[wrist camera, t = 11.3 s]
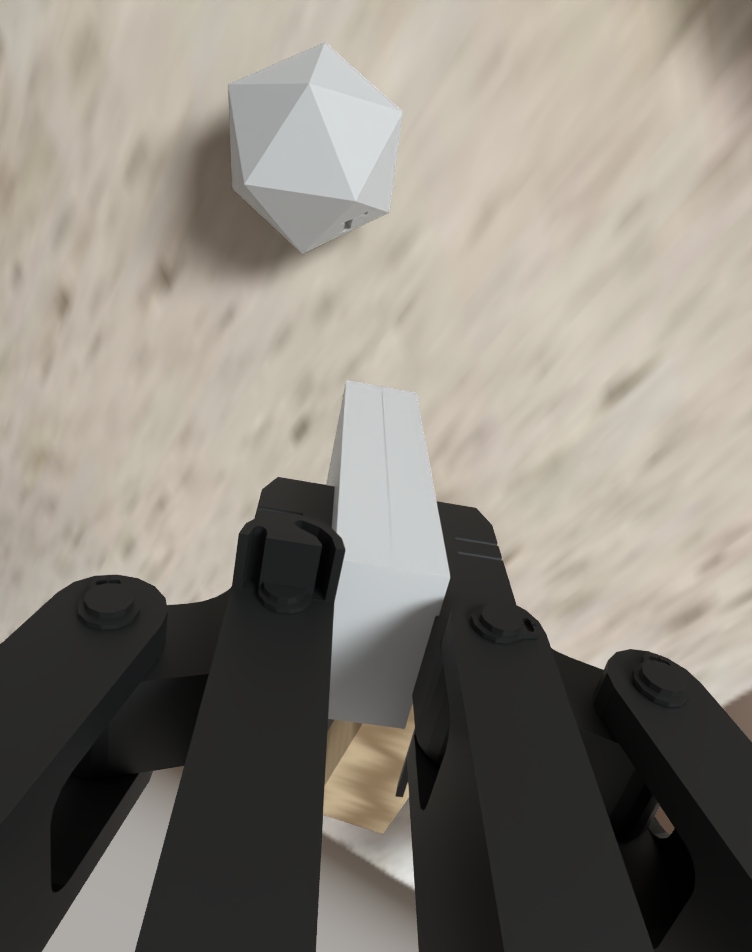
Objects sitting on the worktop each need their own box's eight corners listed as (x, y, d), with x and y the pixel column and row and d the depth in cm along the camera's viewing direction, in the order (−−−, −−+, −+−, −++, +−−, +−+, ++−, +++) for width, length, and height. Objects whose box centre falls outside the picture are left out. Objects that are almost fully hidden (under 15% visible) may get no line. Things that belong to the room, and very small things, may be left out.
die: (234, 211, 41) (299, 309, 36) (173, 57, 34) (243, 151, 28) (360, 152, 42) (442, 239, 37) (327, -9, 35) (423, 70, 29)
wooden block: (394, 615, 52) (318, 746, 59) (393, 673, 47) (309, 810, 54) (468, 643, 53) (385, 768, 60) (474, 703, 48) (382, 834, 55)
